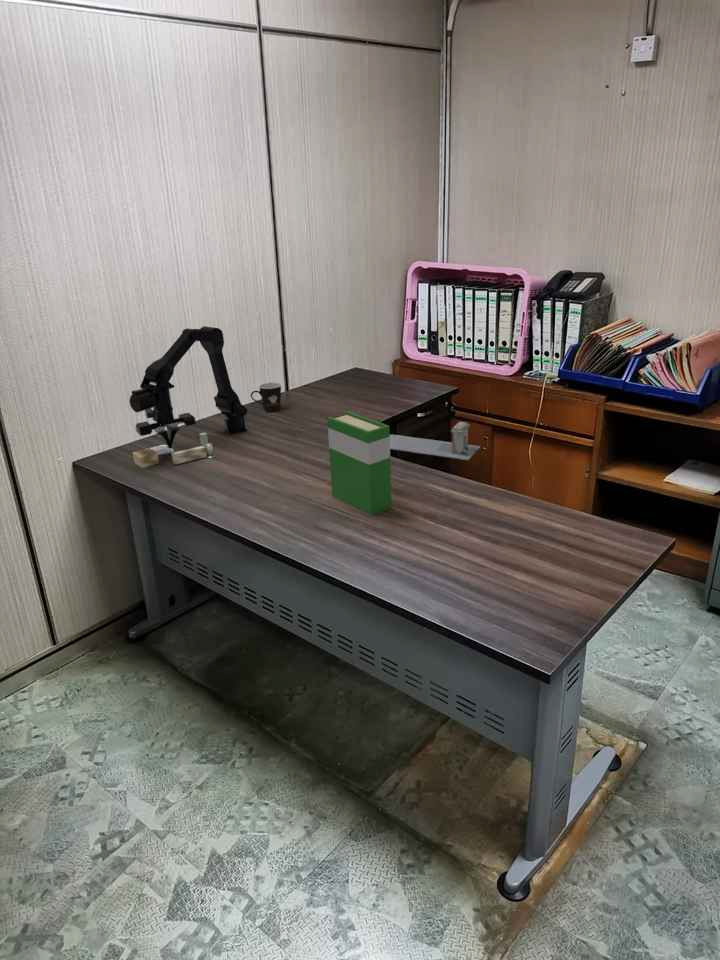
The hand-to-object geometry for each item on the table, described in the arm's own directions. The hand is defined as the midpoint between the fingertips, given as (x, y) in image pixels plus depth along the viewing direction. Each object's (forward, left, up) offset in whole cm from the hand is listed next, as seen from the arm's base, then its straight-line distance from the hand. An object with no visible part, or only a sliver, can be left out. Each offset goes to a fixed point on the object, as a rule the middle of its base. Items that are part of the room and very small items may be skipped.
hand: (169, 447), depth 235 cm
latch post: (-13, -4, -3) cm, 14 cm away
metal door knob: (-11, +8, -3) cm, 14 cm away
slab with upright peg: (-74, +45, -4) cm, 87 cm away
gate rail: (-4, +8, -3) cm, 9 cm away
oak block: (+9, +1, -4) cm, 9 cm away
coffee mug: (-48, -26, -3) cm, 55 cm away
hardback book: (-34, +68, -4) cm, 76 cm away
